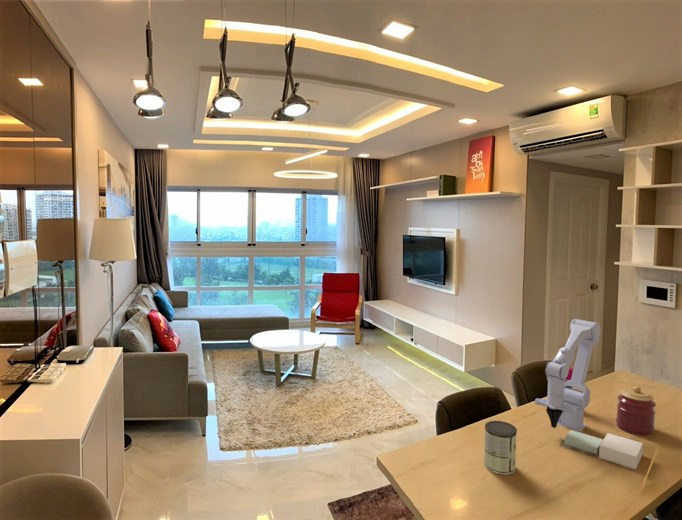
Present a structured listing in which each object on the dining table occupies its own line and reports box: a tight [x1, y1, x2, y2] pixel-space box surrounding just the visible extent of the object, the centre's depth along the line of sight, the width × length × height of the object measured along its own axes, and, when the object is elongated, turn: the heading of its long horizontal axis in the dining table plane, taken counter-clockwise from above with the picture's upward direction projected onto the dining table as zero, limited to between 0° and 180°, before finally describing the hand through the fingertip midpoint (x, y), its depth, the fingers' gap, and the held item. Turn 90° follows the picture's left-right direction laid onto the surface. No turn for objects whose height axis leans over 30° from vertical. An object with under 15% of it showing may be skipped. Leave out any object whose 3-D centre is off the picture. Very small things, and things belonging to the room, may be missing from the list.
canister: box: [615, 385, 657, 436], centre depth 177 cm, size 13×13×18 cm
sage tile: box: [563, 429, 604, 454], centre depth 164 cm, size 11×9×2 cm
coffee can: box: [483, 420, 518, 476], centre depth 150 cm, size 10×10×14 cm
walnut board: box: [558, 439, 643, 472], centre depth 160 cm, size 24×14×1 cm, turn 47°
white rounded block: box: [599, 432, 644, 471], centre depth 156 cm, size 11×12×5 cm
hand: (554, 426), depth 171 cm, fingers closed
